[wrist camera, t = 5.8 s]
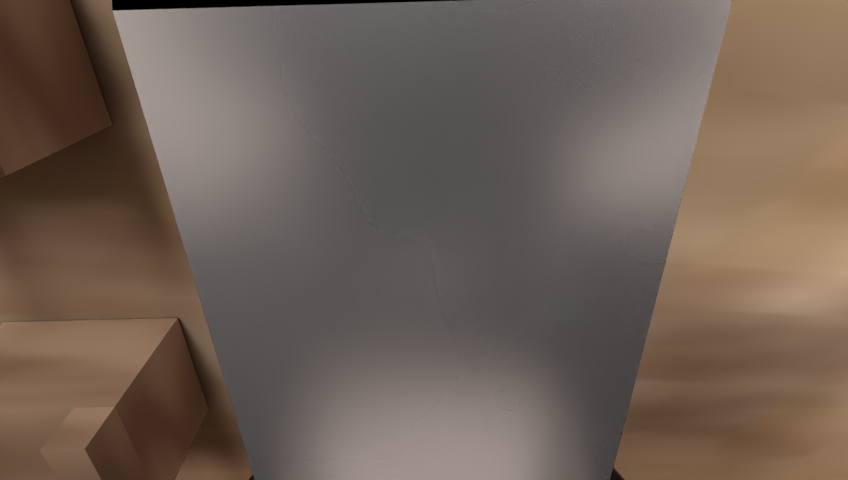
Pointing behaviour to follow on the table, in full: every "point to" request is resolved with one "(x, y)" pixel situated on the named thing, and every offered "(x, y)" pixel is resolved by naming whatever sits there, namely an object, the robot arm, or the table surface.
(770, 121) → the table surface
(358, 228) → the rail
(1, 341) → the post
